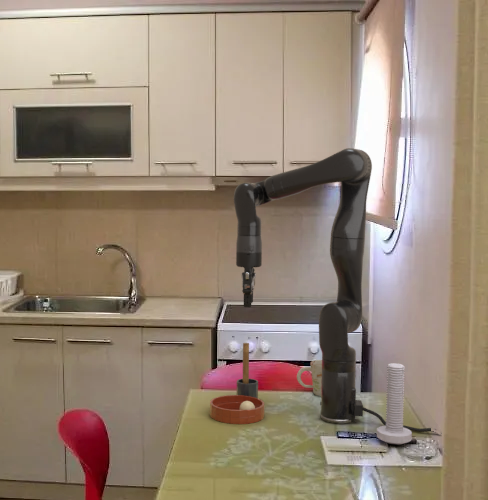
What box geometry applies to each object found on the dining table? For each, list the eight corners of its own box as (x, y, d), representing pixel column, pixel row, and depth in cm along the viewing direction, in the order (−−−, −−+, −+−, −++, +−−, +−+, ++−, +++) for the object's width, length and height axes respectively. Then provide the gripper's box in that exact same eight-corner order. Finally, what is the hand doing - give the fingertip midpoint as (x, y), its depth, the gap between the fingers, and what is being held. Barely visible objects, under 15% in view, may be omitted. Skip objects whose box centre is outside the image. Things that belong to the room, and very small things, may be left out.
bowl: (265, 410, 202) (265, 396, 201) (262, 427, 187) (263, 412, 186) (213, 407, 204) (213, 393, 204) (207, 424, 189) (207, 409, 189)
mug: (336, 398, 214) (337, 366, 214) (295, 396, 217) (296, 364, 216) (336, 391, 222) (337, 360, 222) (297, 389, 225) (297, 358, 224)
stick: (247, 401, 209) (248, 342, 208) (248, 403, 207) (249, 343, 206) (241, 401, 209) (242, 342, 208) (242, 403, 207) (243, 343, 206)
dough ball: (243, 396, 196) (249, 399, 192) (254, 405, 197) (260, 408, 193) (234, 408, 195) (240, 412, 191) (244, 418, 196) (251, 421, 192)
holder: (258, 401, 211) (258, 378, 210) (257, 407, 204) (257, 384, 204) (237, 400, 212) (237, 378, 211) (235, 406, 205) (235, 383, 205)
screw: (400, 435, 181) (402, 360, 179) (418, 447, 172) (420, 368, 171) (370, 438, 179) (372, 361, 177) (387, 449, 170) (389, 369, 169)
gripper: (238, 248, 212) (237, 301, 213) (234, 252, 198) (233, 308, 199) (262, 249, 211) (262, 301, 212) (260, 252, 197) (259, 309, 198)
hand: (248, 304), depth 206 cm, fingers open, 8 cm apart
